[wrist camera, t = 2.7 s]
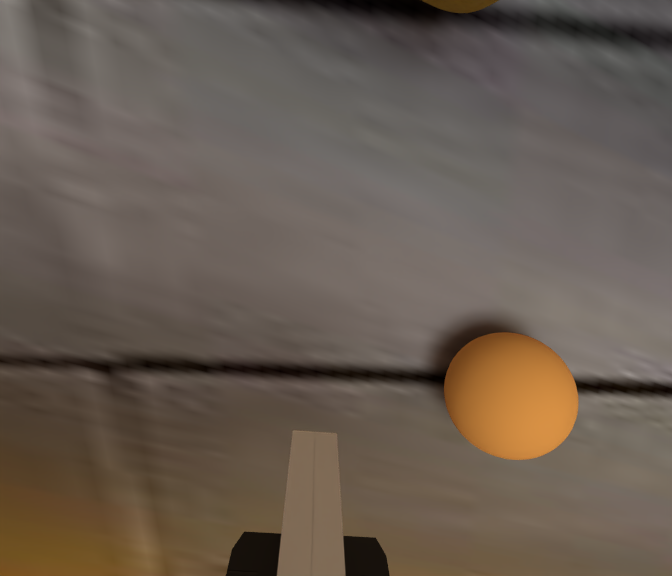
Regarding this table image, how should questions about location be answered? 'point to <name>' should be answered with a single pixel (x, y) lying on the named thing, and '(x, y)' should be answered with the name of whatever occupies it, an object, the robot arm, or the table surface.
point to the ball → (511, 396)
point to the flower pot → (460, 5)
